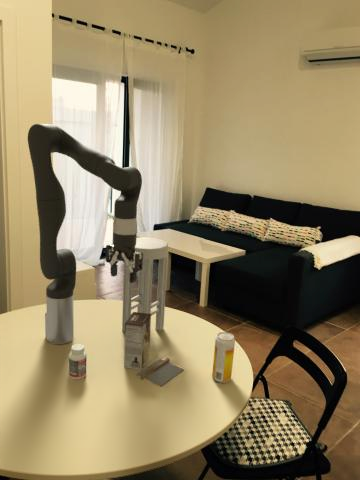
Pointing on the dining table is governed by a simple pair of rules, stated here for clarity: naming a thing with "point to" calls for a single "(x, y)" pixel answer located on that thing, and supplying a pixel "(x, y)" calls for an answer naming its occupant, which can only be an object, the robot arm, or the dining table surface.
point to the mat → (161, 372)
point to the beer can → (223, 357)
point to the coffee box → (137, 340)
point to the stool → (147, 281)
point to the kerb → (154, 368)
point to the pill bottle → (77, 362)
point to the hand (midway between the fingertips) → (123, 278)
